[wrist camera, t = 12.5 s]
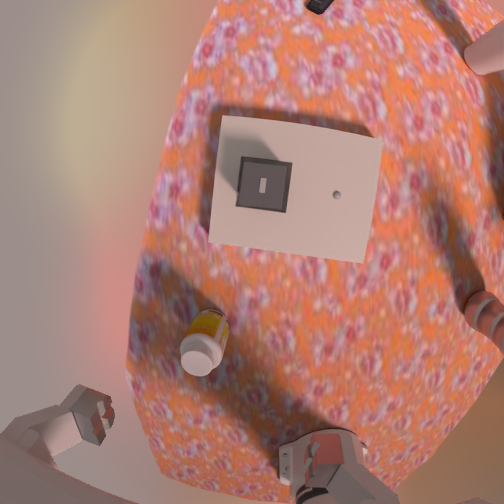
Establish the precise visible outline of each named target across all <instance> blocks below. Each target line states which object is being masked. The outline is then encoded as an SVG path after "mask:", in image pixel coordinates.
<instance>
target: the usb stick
mask: <svg viewBox="0 0 504 504" xmlns="http://www.w3.org/2000/svg"><path fill="white" fill-rule="evenodd" d="M333 1H334V0H311V1H310V2H309V4H308V5H307V6H308V10H310V11H312V12H314V13H316V14H318V15H320V14H322V13H324V11H325V10H326V9H327V8H328V7H329V6H330V4H331V3H332V2H333Z"/></svg>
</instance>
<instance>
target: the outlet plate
mask: <svg viewBox="0 0 504 504" xmlns="http://www.w3.org/2000/svg"><path fill="white" fill-rule="evenodd" d="M382 144H383V140H380V139H376V138H372V137H368V136H363V135H359V134H354V133H349V132H344V131H339V130H334V129H328V128H323V127H317V126H311V125H305V124H298V123H291V122H284V121H276V120H268V119H259V118H249V117H238V116H224V115H222V121H221V129H220V137H219V145H218V153H217V162H216V171H215V180H214V189H213V199H212V209H211V219H210V230H209V241H208V242H210V243H217V244H225V245H232V246H240V247H247V248H254V249H262V250H269V251H276V252H284V253H291V254H298V255H306V256H313V257H320V258H328V259H335V260H342V261H349V262H357V263H363V262H364V257H365V252H366V247H367V242H368V237H369V232H370V227H371V221H372V215H373V210H374V203H375V197H376V191H377V184H378V177H379V169H380V161H381V153H382ZM244 162H252V163H260V164H268V165H276V166H283V167H287V171H286V179H285V187H284V194H283V202H282V209H276V208H268V207H261V206H253V205H245V204H239V200H240V191H241V183H242V174H243V166H244Z"/></svg>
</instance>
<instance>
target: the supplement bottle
mask: <svg viewBox="0 0 504 504" xmlns="http://www.w3.org/2000/svg"><path fill="white" fill-rule="evenodd" d="M229 332H230V324H229V321H228V319H227V318H226V316H225V315H223V314H222V313H221V312H219V311H216V310H212V309H208V310H203V311H201V312H199V313H198V314H197V315H196V317H195V318H194V320H193V322H192V324H191V326H190V327H189V329H188V331H187V333H186V335H185V337H184V339H183V341H182V343H181V345H180V354H181V365H182V367H183V368H184V370H185V371H186V372H188V373H189V374H191V375H194V376H205V375H207V374H209V373H210V372H211V370H212V369H214V368H216V367H217V366H218V365H219V364H220V362H221V360H222V357H223V354H224V350H225V347H226V343H227V339H228V336H229Z"/></svg>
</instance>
